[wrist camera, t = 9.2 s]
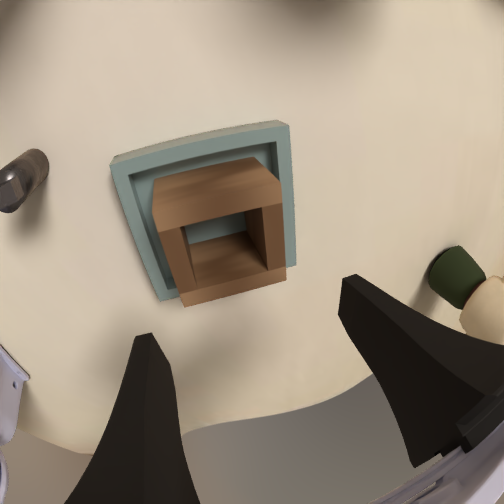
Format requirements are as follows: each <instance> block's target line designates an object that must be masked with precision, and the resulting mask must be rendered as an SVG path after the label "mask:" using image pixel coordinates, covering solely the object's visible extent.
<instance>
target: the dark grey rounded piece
mask: <svg viewBox="0 0 504 504" xmlns="http://www.w3.org/2000/svg"><path fill="white" fill-rule="evenodd" d="M48 171H49V162H48V159H47V157H46V155H45V154H44V153H43V152H42V151H40V150H38V149H30V150H27V151H26V152H24V153H23V154H22V155H20V156H19V157H17V158H16V159H15V160H13V161H12V162H10V163H9V164H8V165H6V166H5V167H4V168H2V169H1V170H0V211H1V212H4V213H12V212H14V211H16V210H17V209H18V208H19V207H20V205H21V204H22V203H23V202H24V201H25V200H26V198H27V197H28V196H29V195H30V194H31V193H32V192H33V191H34V190H35V188H36V187H37V186H38V185H39V184H40V183H41V182H42V181H43V180H44V179H45V178H46V176H47V174H48Z"/></svg>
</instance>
